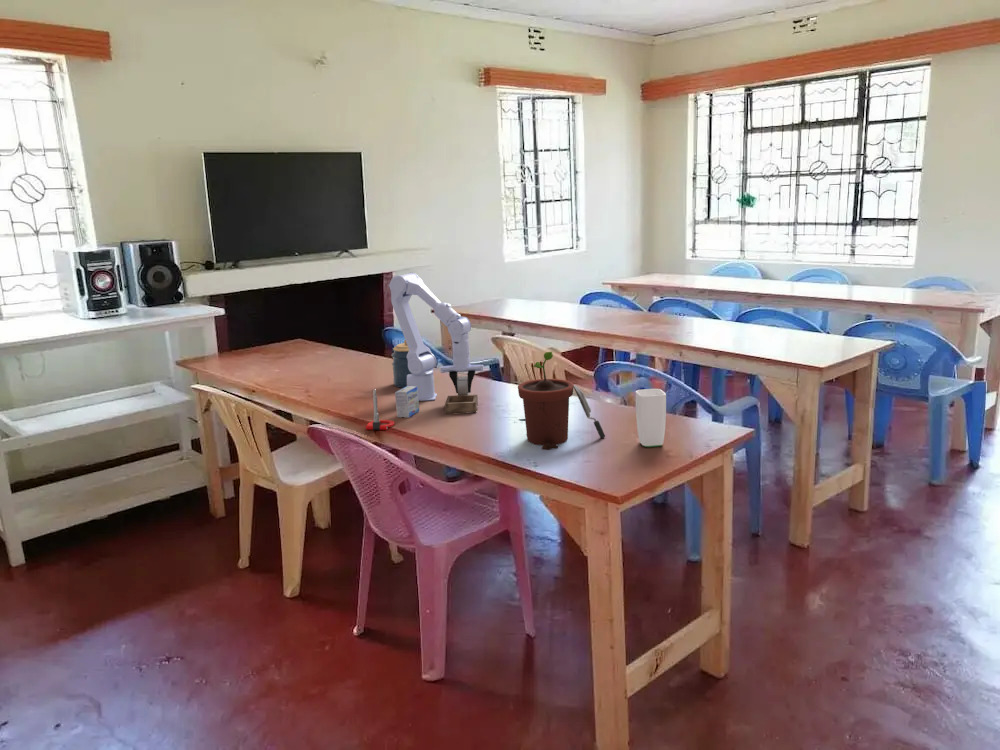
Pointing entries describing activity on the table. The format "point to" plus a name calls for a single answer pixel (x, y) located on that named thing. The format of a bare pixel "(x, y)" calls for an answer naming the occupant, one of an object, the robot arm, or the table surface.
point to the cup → (651, 416)
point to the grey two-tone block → (462, 385)
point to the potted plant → (550, 409)
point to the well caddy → (461, 404)
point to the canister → (400, 364)
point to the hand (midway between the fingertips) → (463, 392)
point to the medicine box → (407, 401)
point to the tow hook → (377, 423)
